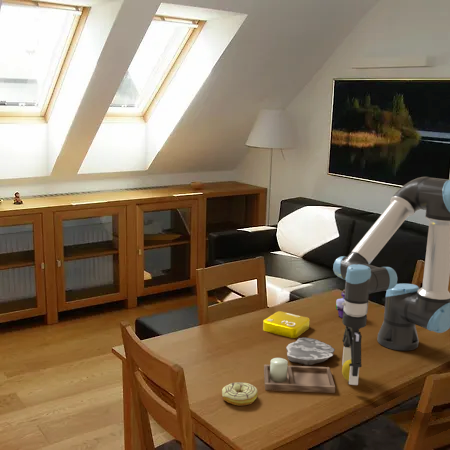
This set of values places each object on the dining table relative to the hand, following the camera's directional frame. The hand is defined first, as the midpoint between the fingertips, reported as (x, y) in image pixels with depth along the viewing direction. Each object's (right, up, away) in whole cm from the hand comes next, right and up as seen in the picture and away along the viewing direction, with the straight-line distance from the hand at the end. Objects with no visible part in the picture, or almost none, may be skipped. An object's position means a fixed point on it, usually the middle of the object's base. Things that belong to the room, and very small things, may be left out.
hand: (349, 374), depth 190 cm
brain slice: (-10, +1, +20) cm, 22 cm away
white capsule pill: (-23, -1, 0) cm, 23 cm away
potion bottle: (+11, +9, +59) cm, 61 cm away
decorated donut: (-36, -5, -12) cm, 38 cm away
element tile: (-16, +7, +45) cm, 48 cm away
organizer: (-17, -2, 0) cm, 17 cm away
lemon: (0, -3, +1) cm, 3 cm away
